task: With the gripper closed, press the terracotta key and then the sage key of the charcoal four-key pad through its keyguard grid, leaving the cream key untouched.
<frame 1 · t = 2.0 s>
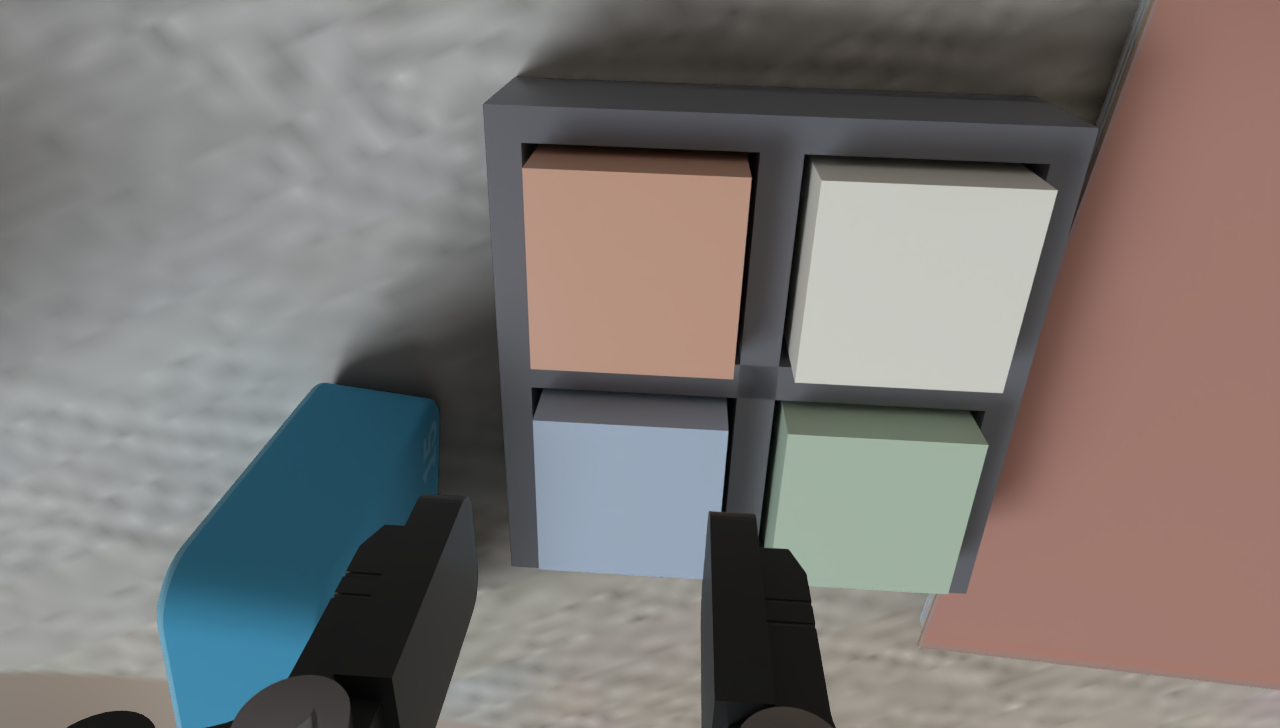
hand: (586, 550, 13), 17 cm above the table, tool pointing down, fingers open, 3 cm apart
dusty blue key: (631, 472, 28), point 4 cm above the table, slide at 0.0 cm
terracotta key: (637, 257, 24), point 4 cm above the table, slide at 0.0 cm
cream key: (903, 269, 24), point 4 cm above the table, slide at 0.0 cm
notebook: (1226, 373, 30), on the table
keypad: (749, 321, 30), on the table
data package: (387, 494, 35), on the table
sage key: (862, 485, 28), point 4 cm above the table, slide at 0.0 cm
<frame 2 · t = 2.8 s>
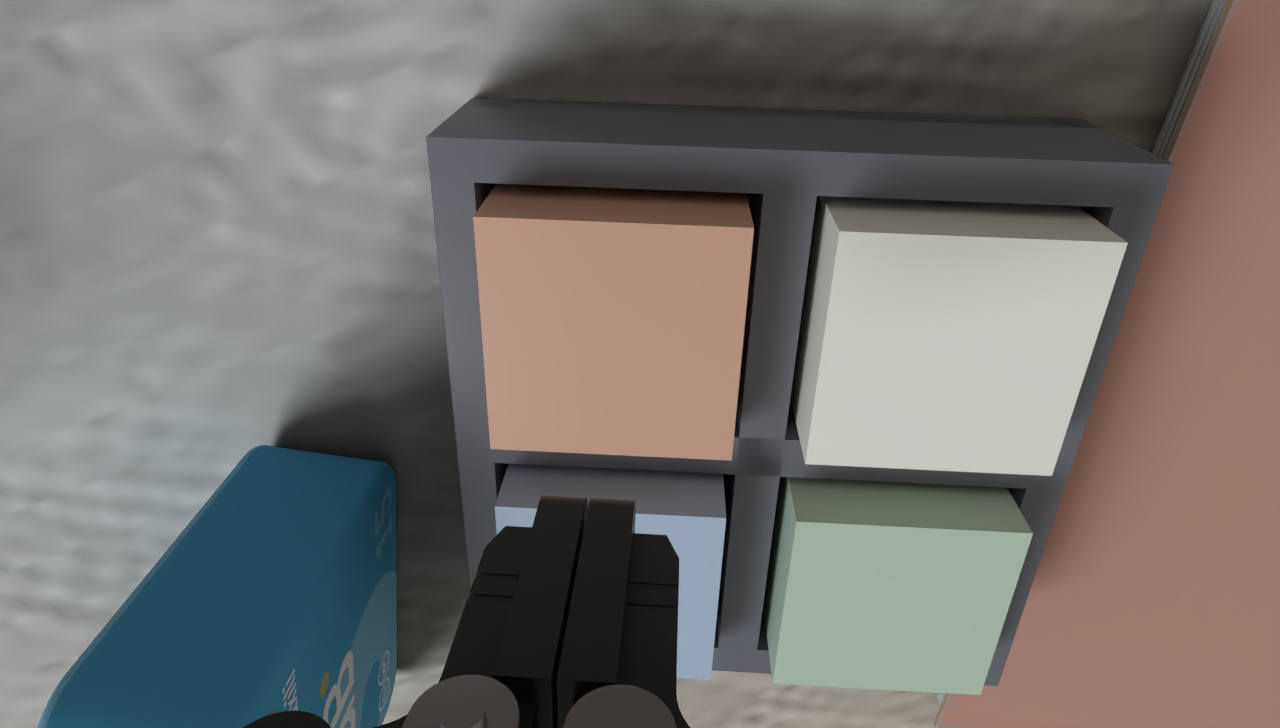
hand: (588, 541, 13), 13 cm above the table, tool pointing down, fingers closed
dusty blue key: (613, 555, 24), point 4 cm above the table, slide at 0.0 cm
terracotta key: (617, 315, 20), point 4 cm above the table, slide at 0.0 cm
cream key: (932, 328, 20), point 4 cm above the table, slide at 0.0 cm
keypad: (748, 375, 26), on the table
data package: (340, 562, 31), on the table
sage key: (880, 569, 24), point 4 cm above the table, slide at 0.0 cm
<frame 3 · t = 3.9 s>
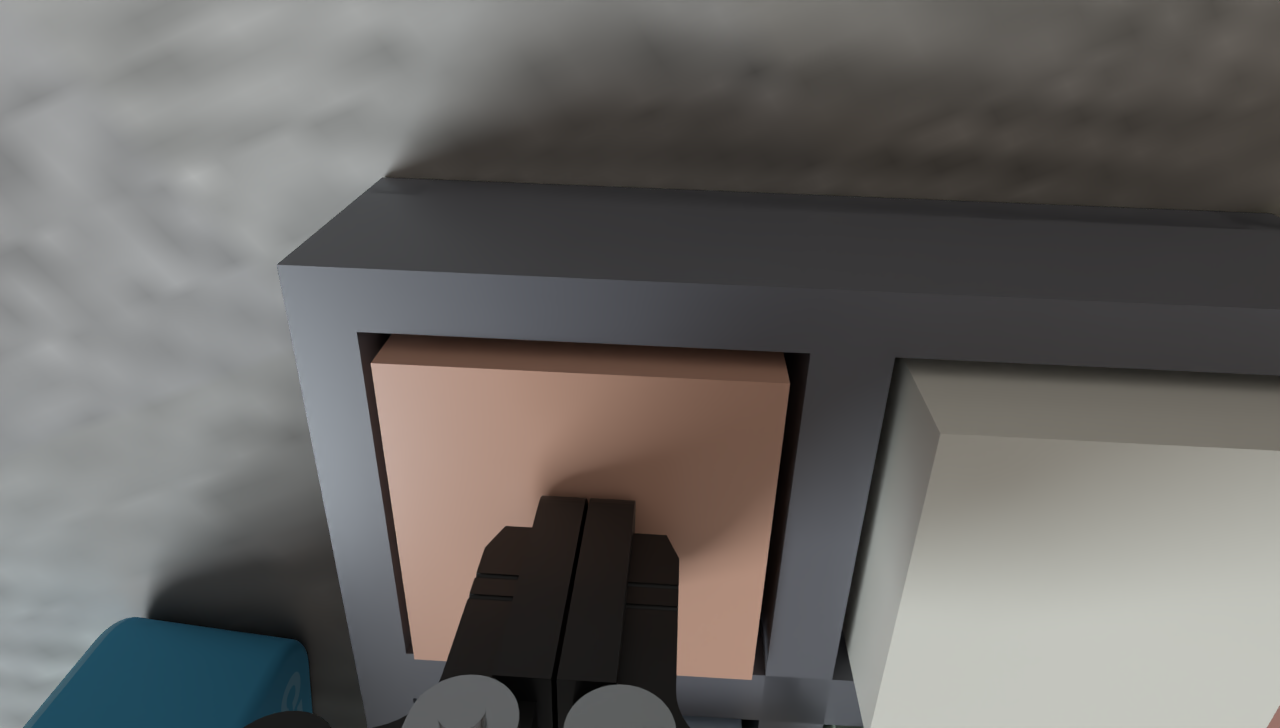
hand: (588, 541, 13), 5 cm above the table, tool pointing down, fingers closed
terracotta key: (591, 472, 15), point 3 cm above the table, slide at 1.1 cm, touching gripper
cream key: (1060, 538, 13), point 4 cm above the table, slide at 0.0 cm
keypad: (773, 539, 19), on the table
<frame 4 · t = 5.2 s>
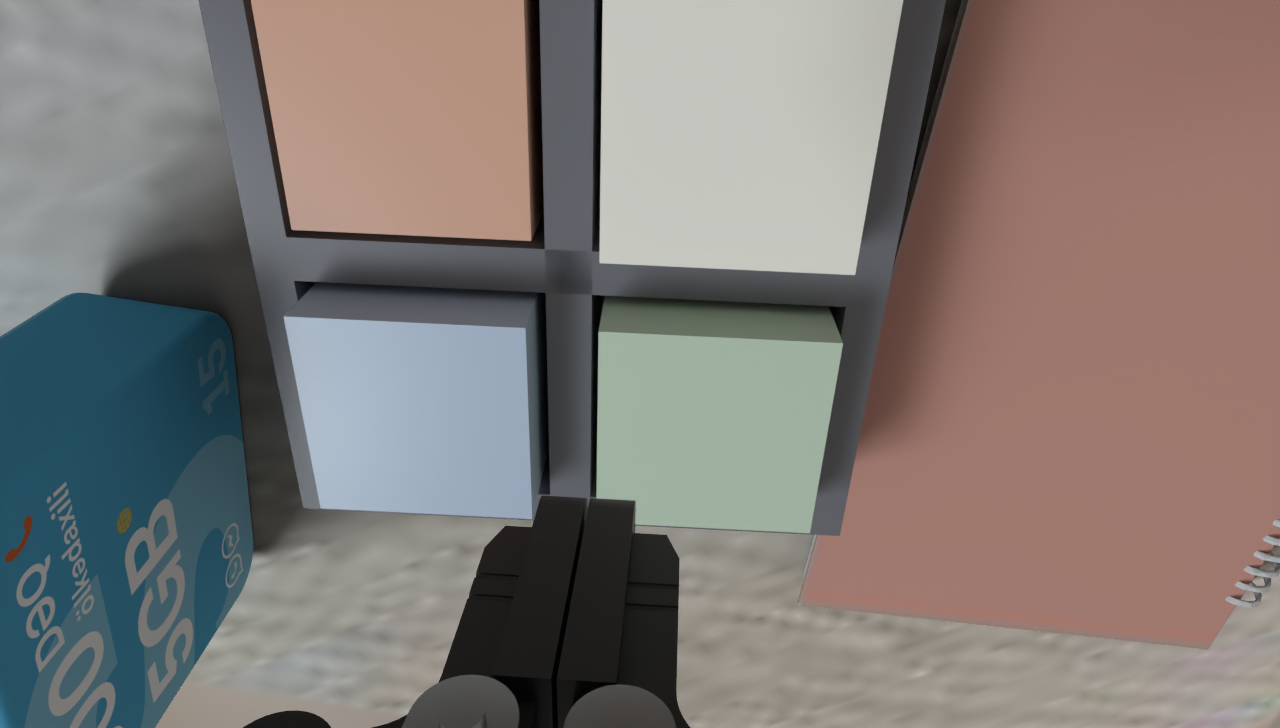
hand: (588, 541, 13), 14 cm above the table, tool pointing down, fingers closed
dusty blue key: (432, 390, 23), point 4 cm above the table, slide at 0.0 cm
terracotta key: (418, 97, 21), point 3 cm above the table, slide at 1.2 cm
cream key: (733, 122, 19), point 4 cm above the table, slide at 0.0 cm
notebook: (1138, 279, 26), on the table
keypad: (585, 215, 25), on the table
data package: (186, 433, 30), on the table
sage key: (708, 404, 23), point 4 cm above the table, slide at 0.0 cm
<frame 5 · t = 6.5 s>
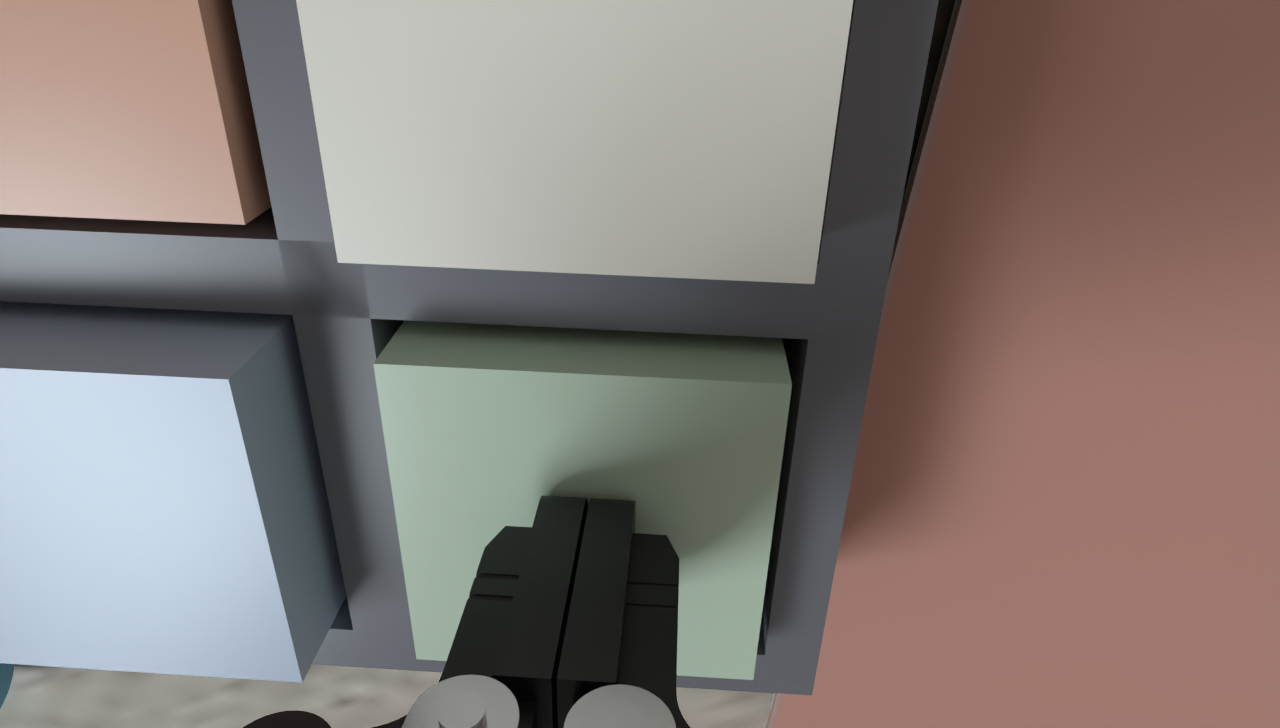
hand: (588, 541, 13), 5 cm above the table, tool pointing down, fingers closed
dusty blue key: (146, 471, 14), point 4 cm above the table, slide at 0.0 cm
cream key: (587, 0, 10), point 4 cm above the table, slide at 0.0 cm
notebook: (1274, 289, 17), on the table
keypad: (414, 192, 16), on the table
sage key: (593, 473, 15), point 4 cm above the table, slide at 0.7 cm, touching gripper
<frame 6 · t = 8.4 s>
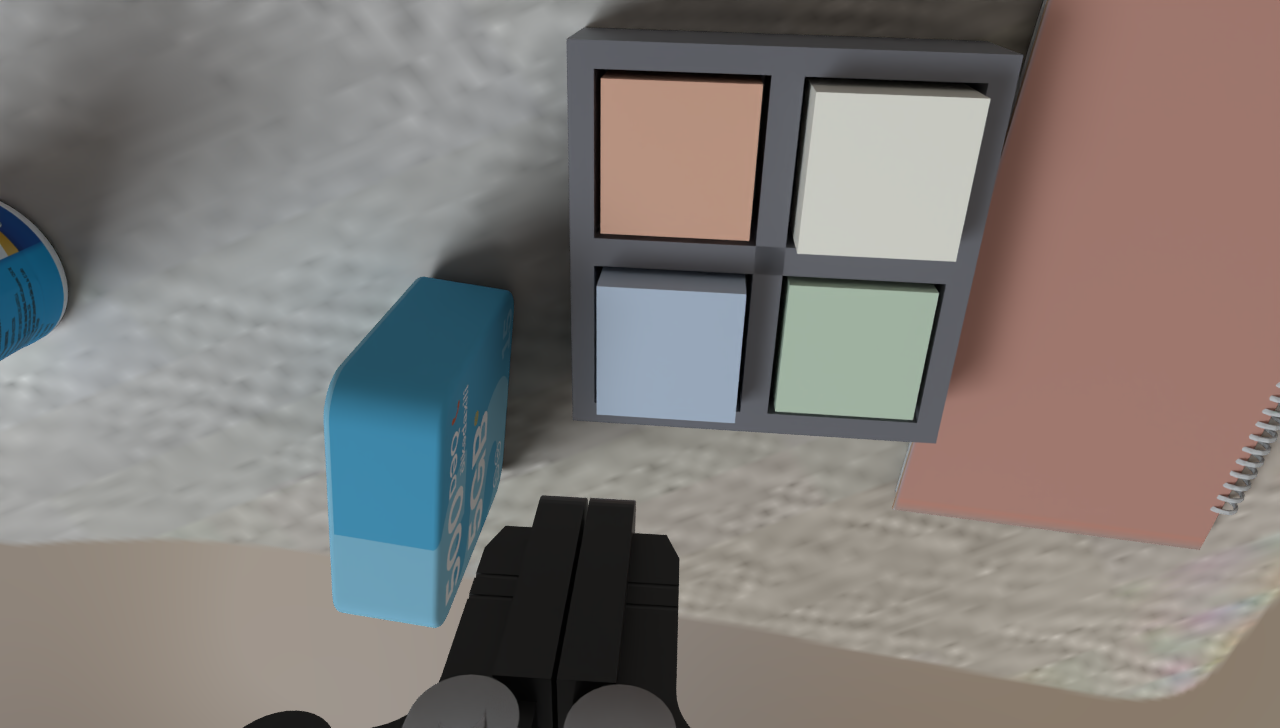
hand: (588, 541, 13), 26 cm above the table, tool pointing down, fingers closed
dusty blue key: (670, 339, 36), point 4 cm above the table, slide at 0.0 cm
terracotta key: (679, 152, 33), point 3 cm above the table, slide at 1.2 cm
cream key: (880, 168, 32), point 4 cm above the table, slide at 0.0 cm
notebook: (1140, 272, 38), on the table
keypad: (763, 226, 37), on the table
data package: (467, 378, 43), on the table
sage key: (847, 337, 36), point 3 cm above the table, slide at 1.2 cm
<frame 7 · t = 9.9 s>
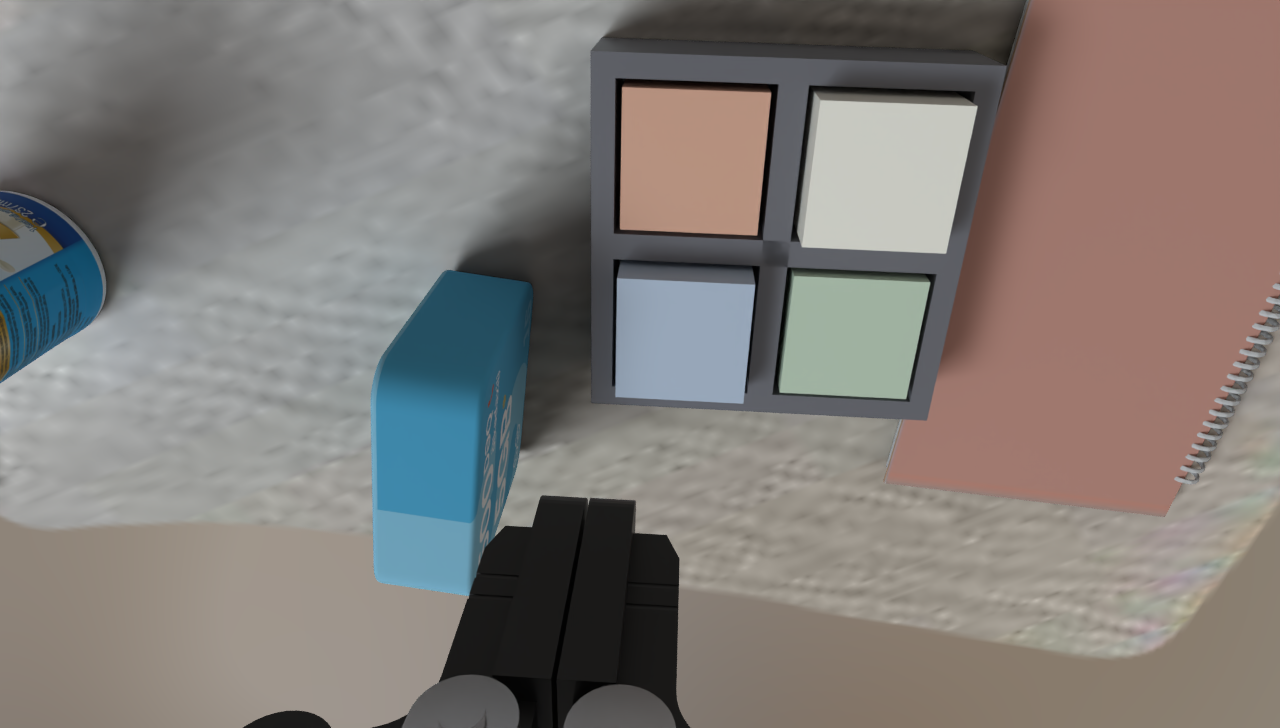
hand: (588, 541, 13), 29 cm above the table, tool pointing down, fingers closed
dusty blue key: (682, 326, 39), point 4 cm above the table, slide at 0.0 cm
terracotta key: (692, 153, 36), point 3 cm above the table, slide at 1.2 cm
cream key: (877, 168, 35), point 4 cm above the table, slide at 0.0 cm
notebook: (1110, 261, 41), on the table
keypad: (767, 221, 40), on the table
data package: (487, 365, 45), on the table
beverage bottle: (37, 260, 44), on the table
sage key: (845, 323, 39), point 3 cm above the table, slide at 1.2 cm
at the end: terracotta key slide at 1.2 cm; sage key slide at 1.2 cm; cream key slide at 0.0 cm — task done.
